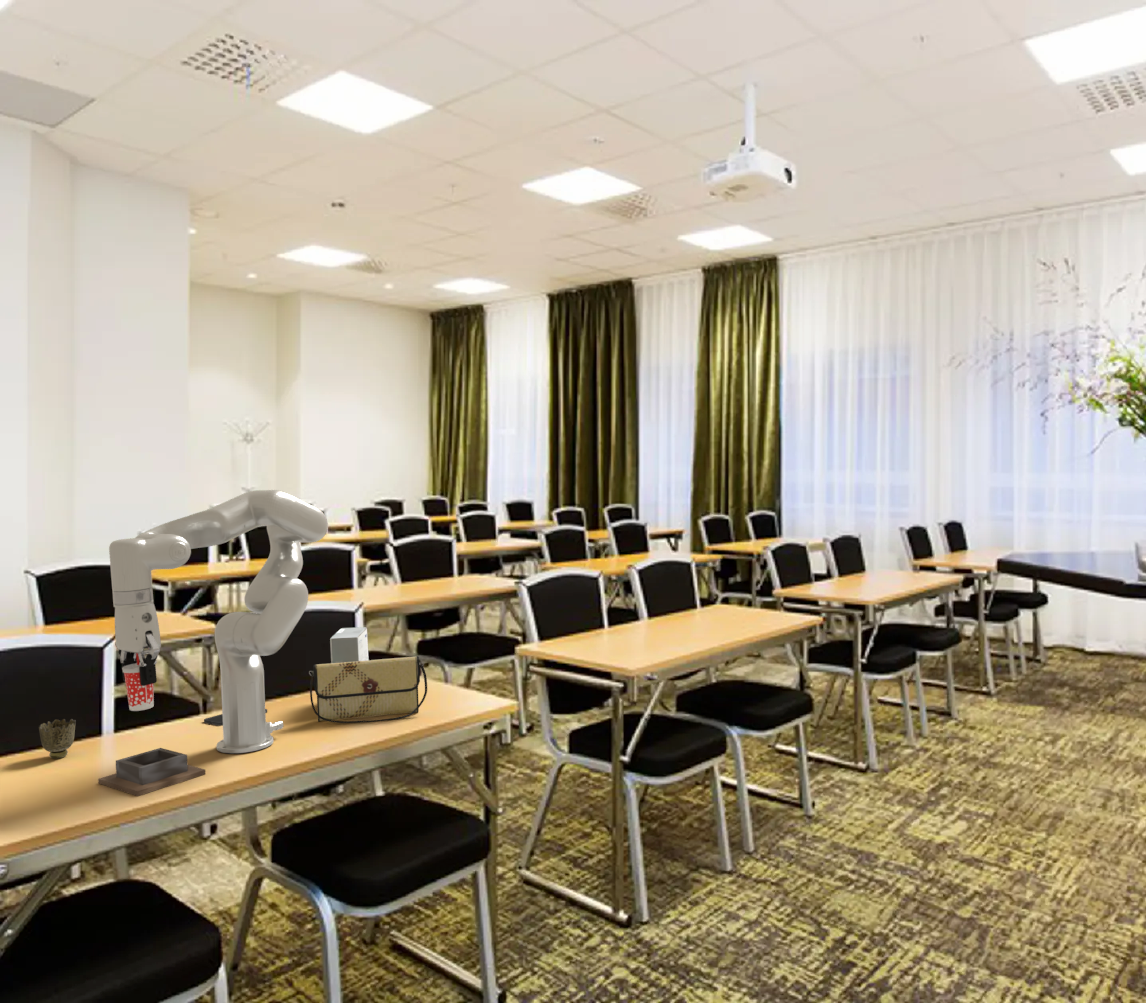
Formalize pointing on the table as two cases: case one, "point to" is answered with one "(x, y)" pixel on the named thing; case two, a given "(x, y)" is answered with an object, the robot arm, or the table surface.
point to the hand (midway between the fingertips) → (139, 681)
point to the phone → (217, 720)
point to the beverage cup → (137, 688)
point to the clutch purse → (367, 689)
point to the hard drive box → (349, 645)
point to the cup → (57, 737)
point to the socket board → (150, 772)
